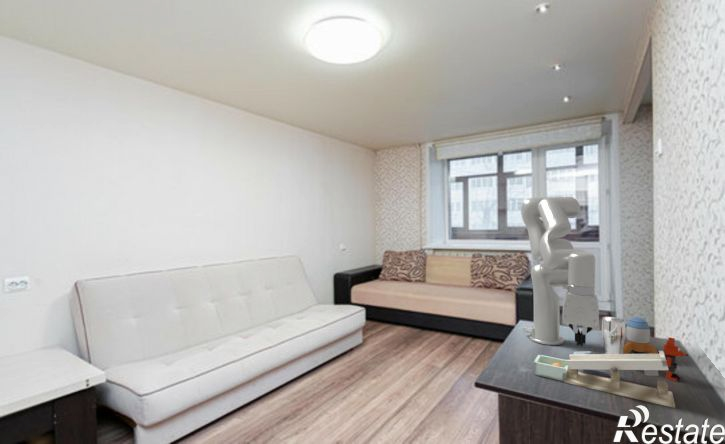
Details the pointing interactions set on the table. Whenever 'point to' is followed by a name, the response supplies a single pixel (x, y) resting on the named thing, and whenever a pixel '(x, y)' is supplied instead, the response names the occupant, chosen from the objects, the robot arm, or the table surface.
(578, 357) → the lever
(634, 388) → the stand
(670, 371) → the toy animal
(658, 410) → the table surface
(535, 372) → the tray
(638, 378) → the table surface
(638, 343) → the toy rocket
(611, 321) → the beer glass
